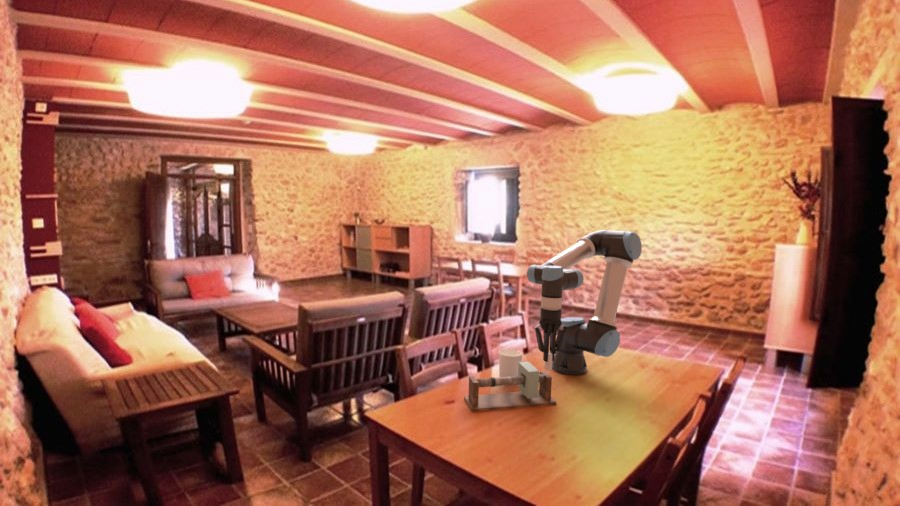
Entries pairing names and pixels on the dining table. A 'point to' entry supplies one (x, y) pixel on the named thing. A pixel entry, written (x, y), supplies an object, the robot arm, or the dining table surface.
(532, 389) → the collar
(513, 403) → the dowel stand
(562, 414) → the dining table surface
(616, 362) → the dining table surface
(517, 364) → the candle holder
